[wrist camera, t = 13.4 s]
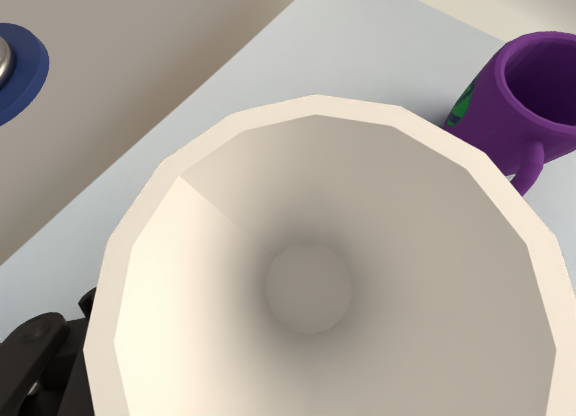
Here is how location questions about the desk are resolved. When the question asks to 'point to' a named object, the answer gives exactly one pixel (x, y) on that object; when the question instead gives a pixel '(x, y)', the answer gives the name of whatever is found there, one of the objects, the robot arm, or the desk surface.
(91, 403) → the robot arm
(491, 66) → the mug
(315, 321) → the foam cup
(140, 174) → the desk surface
